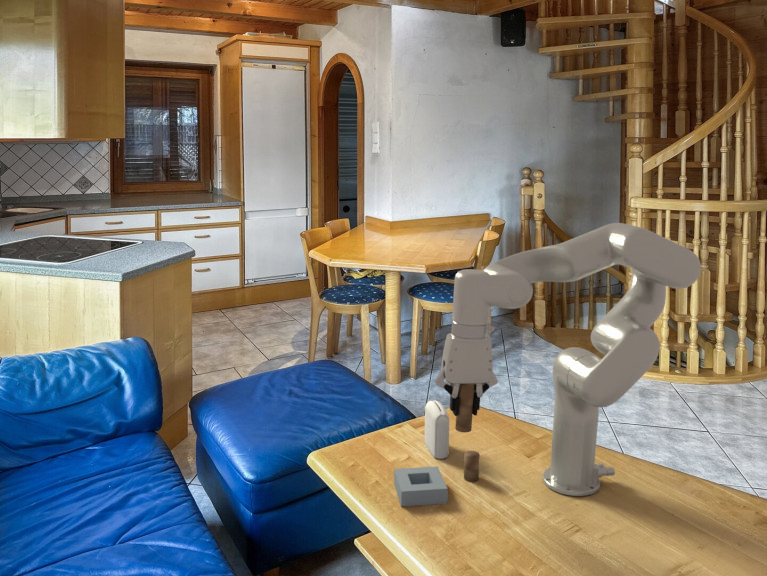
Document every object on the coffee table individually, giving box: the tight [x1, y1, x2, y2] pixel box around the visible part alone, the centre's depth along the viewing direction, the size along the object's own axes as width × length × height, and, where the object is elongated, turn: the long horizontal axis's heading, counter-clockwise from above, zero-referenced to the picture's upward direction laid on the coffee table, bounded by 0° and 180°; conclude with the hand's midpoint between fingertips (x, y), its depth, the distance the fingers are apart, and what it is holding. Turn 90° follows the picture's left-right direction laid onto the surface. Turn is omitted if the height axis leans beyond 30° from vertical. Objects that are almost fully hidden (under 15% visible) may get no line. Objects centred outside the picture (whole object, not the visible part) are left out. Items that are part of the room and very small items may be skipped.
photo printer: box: [424, 400, 450, 459], centre depth 170 cm, size 10×4×12 cm, turn 12°
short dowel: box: [463, 450, 481, 483], centre depth 157 cm, size 3×3×6 cm
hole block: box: [393, 465, 448, 507], centre depth 150 cm, size 10×10×4 cm
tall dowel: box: [454, 384, 475, 433], centre depth 144 cm, size 3×3×12 cm
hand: (464, 412), depth 144 cm, fingers closed on tall dowel, 3 cm apart
